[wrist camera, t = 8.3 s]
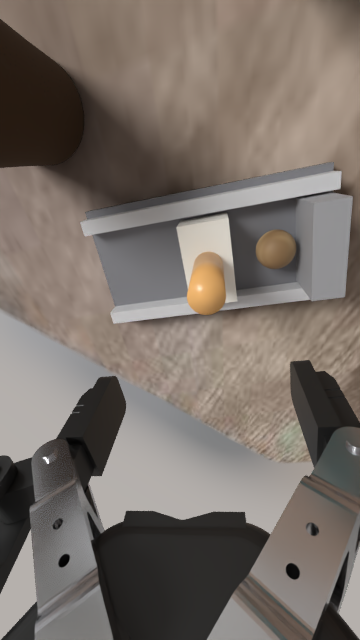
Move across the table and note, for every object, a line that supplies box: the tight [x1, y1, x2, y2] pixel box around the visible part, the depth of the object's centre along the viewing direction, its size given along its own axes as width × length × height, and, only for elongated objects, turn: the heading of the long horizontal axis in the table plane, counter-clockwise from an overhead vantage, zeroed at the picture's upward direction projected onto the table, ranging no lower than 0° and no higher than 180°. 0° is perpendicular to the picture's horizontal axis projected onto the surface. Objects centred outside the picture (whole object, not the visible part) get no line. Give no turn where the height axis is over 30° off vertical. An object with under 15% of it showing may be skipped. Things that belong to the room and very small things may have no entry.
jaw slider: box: [176, 212, 237, 315], centre depth 27 cm, size 5×9×12 cm, turn 10°
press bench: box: [80, 162, 353, 324], centre depth 31 cm, size 26×14×8 cm, turn 101°
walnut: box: [256, 230, 296, 269], centre depth 30 cm, size 4×4×4 cm
